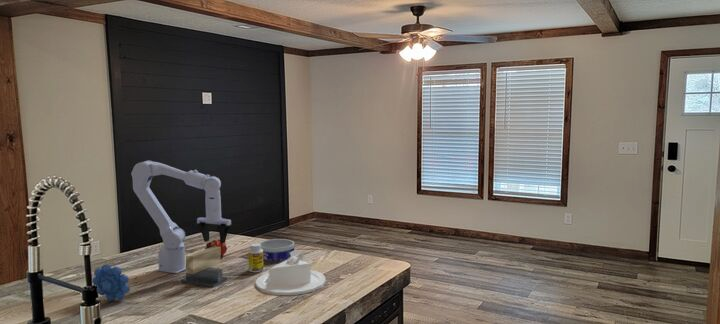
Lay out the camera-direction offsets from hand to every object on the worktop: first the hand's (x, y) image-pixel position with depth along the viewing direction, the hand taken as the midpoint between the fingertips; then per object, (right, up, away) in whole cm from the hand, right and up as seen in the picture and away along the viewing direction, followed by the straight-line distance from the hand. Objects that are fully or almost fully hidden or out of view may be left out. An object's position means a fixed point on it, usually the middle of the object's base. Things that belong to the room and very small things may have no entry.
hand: (214, 242), depth 184 cm
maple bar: (+1, -7, -15) cm, 16 cm away
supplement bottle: (+17, -11, -2) cm, 20 cm away
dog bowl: (+21, -9, +17) cm, 28 cm away
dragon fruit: (-4, -9, +15) cm, 18 cm away
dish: (+32, -13, -15) cm, 38 cm away
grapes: (-23, -14, -33) cm, 43 cm away
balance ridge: (+1, -12, -14) cm, 18 cm away
